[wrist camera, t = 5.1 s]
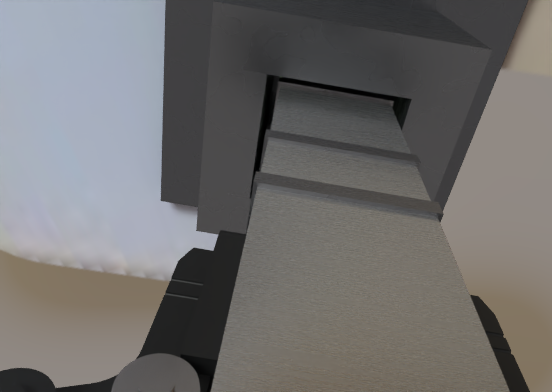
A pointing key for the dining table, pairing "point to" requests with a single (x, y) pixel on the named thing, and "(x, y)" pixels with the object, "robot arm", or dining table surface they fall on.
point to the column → (347, 262)
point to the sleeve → (321, 69)
